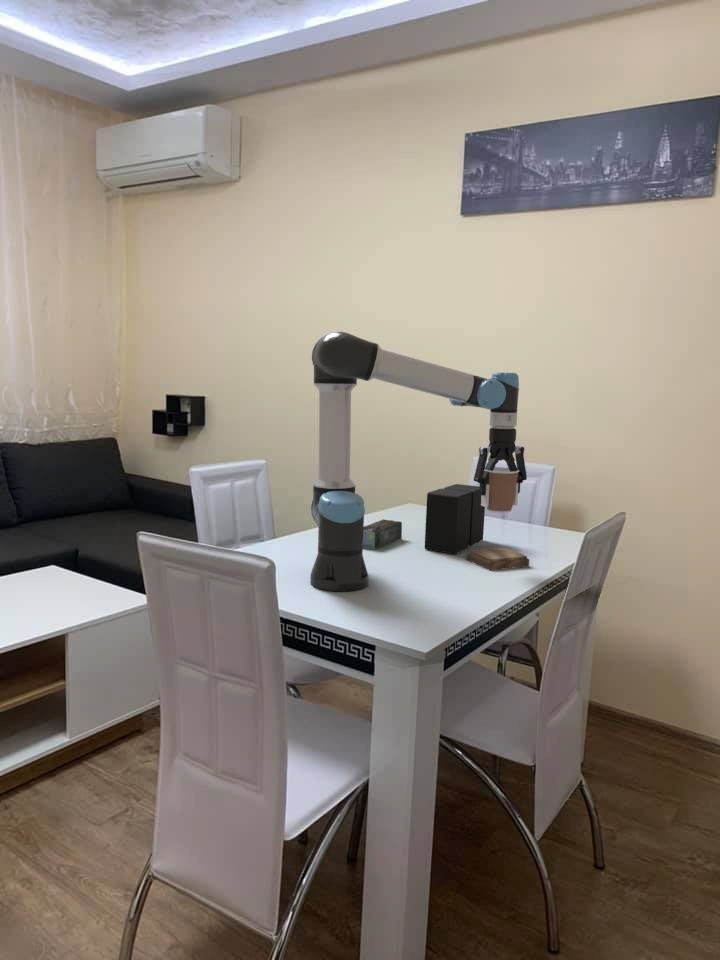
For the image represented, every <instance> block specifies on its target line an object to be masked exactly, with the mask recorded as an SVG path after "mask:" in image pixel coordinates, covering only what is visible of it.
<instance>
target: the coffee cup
mask: <svg viewBox="0 0 720 960" xmlns="http://www.w3.org/2000/svg"><path fill="white" fill-rule="evenodd" d="M484 471H487V472H489V480H488V482H487V484H489V505H488V507H486V510H487V511H488V512H491V513H497V514H506V513H511V512H512V509H513V506H514V505H513V500H514V495H515V489H516V483H517V477H518V472H519V470H518V469H517V471H515V472H510V471H509V468H508V467H503V466H500V467H499V466H495V467H494V469H493V471H489V470H484Z"/></svg>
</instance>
